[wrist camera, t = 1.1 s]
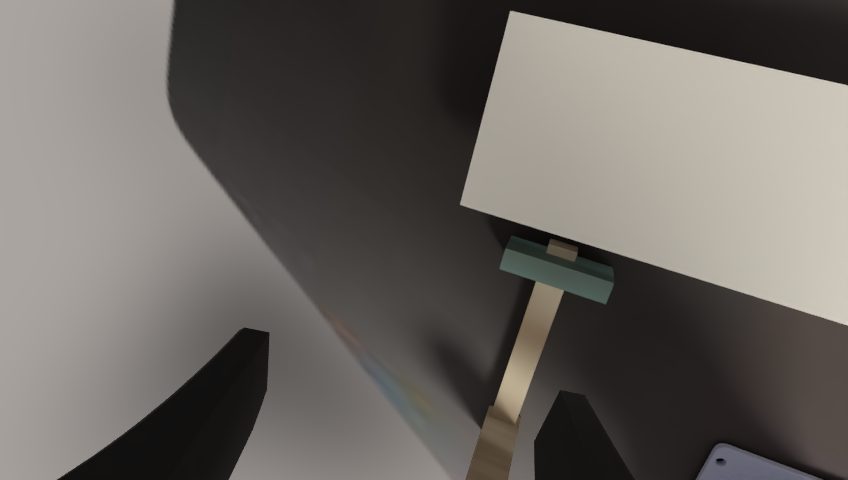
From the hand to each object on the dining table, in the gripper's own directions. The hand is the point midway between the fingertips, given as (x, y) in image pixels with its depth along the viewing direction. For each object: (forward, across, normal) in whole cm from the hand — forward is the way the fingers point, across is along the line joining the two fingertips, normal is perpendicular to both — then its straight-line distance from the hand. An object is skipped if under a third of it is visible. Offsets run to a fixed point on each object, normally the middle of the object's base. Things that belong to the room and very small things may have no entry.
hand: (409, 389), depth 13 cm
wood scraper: (+13, -7, +10) cm, 18 cm away
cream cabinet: (+14, -13, -3) cm, 20 cm away
